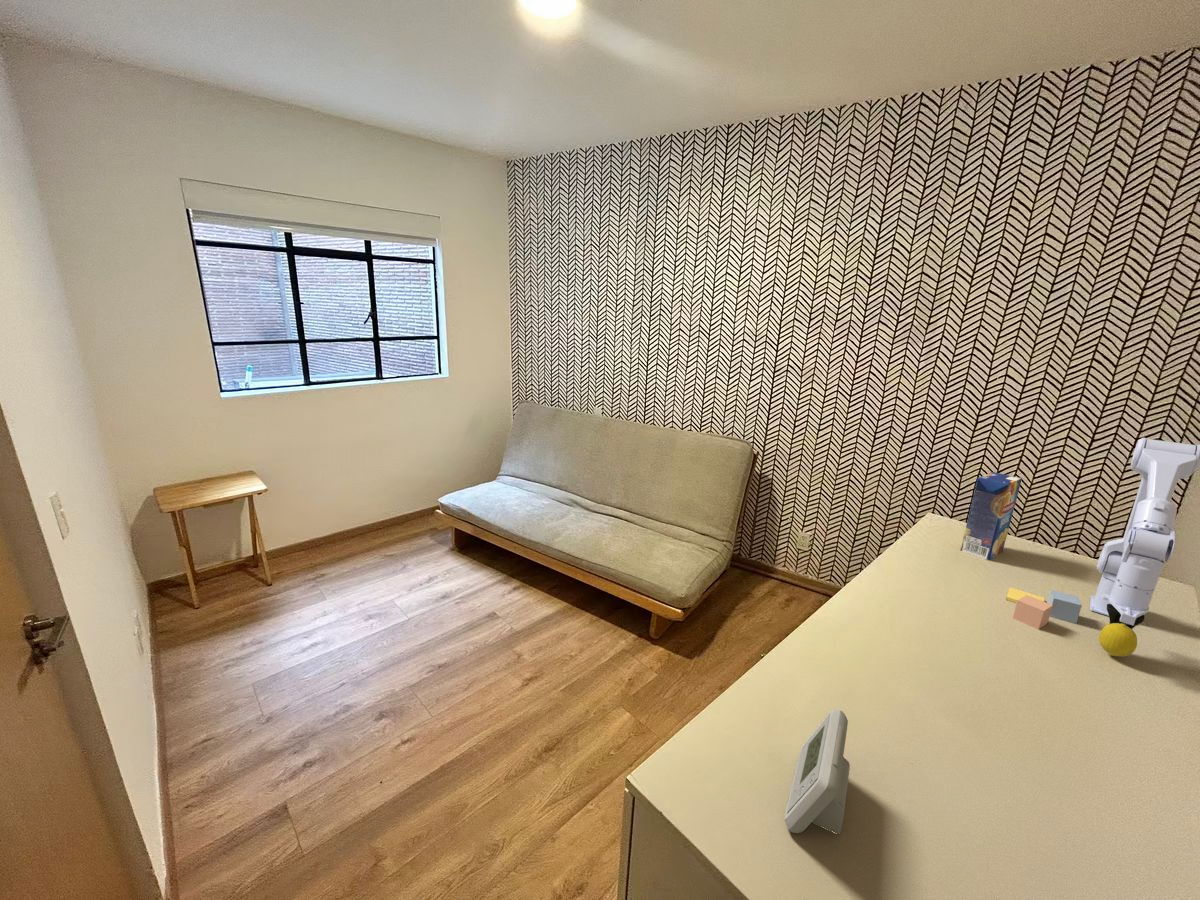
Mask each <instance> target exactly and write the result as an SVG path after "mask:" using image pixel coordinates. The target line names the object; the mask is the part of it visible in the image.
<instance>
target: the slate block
mask: <svg viewBox="0 0 1200 900" xmlns="http://www.w3.org/2000/svg"><path fill="white" fill-rule="evenodd" d="M1046 603H1049V604H1051V605H1053V607H1052V610H1051V613H1050V617H1049V618H1054V619H1058V620H1061V621H1065V622H1069V623H1072V624H1077V622H1078V618H1079V616H1080V612H1081V609H1082V607H1083V605H1082V603H1081V600H1080V598H1079V596H1078V595H1073V594H1070V593H1065V592H1063V591H1059V590H1054V589H1050V591H1049V594H1048V598H1047V602H1046Z"/></svg>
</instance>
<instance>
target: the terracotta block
mask: <svg viewBox="0 0 1200 900" xmlns="http://www.w3.org/2000/svg"><path fill="white" fill-rule="evenodd" d="M1052 607H1053V605H1051V604H1049V603H1047V602H1046V601H1044V602H1043V601H1041V600H1038V599H1036V598H1033V597H1031V596H1028V595H1026V596H1024V597H1023V598H1021V599H1019V600H1018V601H1017V603H1016V605H1015V610H1014V612H1013V617H1012V619H1013V620H1016V621H1018V622H1020V623H1023V624H1025V625H1027V626H1029V627H1032V628H1035V629H1036V630H1040V629H1041V628H1042V627H1044V626H1046V625H1047V624H1048V622H1049V619H1050V618H1051V617H1050V613H1051V610H1052Z"/></svg>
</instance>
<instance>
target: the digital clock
mask: <svg viewBox="0 0 1200 900" xmlns="http://www.w3.org/2000/svg"><path fill="white" fill-rule="evenodd" d="M848 723H849V722H848V718H847V716H846V713H844V711H842V710H841V709H831V710H830V711H829V713H828V714H826V715H825V717H824V718H823V720H822V721H821V722H820V723H819V725H818V726H816V729H814V731H813V732H812V733H811V735H809V736H808V738H806V740H805V741H804V743H803V745H802V746H801V747H800V750H799V755H798V759H797V764H796V767H795V772H794V775H793V779H792V783H791V784H792V785H791V788H790V792H789V797H788V800H787V803H786V809H785V811H784V816H783V817H784V818H783V819H784V822H785V826H786V828H787V830H788V831H789V832H791V833H792V834H800V833H803V832H804V831H805V830H806V829H807V828H808V827H809V825H810V824H813V823H814V824H813V825H815V824H817V825H819V826H822V827H824V828H826V829H828V830H830V831H833V832H835V833H837V834H839V835H838V836H840V835H841V832H842V827H843V822H844V817H845V809H846V800H847V792H848V784H849V776H850V770H851V769H850V767H851V765H850V762H849V760H848V759H847V758H845V756H844V755H845V754H844V753H845V746H846V740H847V739H846V738H847V731H848V726H849V725H848ZM811 822H812V823H811ZM817 825H816V826H817ZM819 826H818V827H819ZM826 829H825V830H826ZM828 830H827V831H828ZM830 831H829V832H830Z"/></svg>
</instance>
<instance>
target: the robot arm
mask: <svg viewBox="0 0 1200 900" xmlns="http://www.w3.org/2000/svg"><path fill="white" fill-rule="evenodd" d="M1199 467H1200V444H1191V443H1189V444H1188V443H1181V442H1176V441H1175V442H1174V441H1166V440H1159V439H1151V438H1146V437H1141V438H1140V439H1138V440H1137V441H1136V445H1135V448H1134V451H1133V454H1132V460H1131V462H1130V470H1132V471H1133V472H1135V473H1138V474H1139V475H1140V484H1139V486H1138V490H1137V494H1136V497H1135V499H1134V503H1133V506H1132V509H1131V512H1130V516H1129V519H1128V522H1127V524H1126V528H1125V532H1124V535H1123V537H1121V538H1118V539H1114V540H1113V539H1112V540H1108V541H1107V542H1106V543H1104V545H1103V548H1102V550H1101V551H1100V555H1099V558H1098V562H1097V565H1096V570H1097V571H1098V573H1100V574H1101V578H1100V581H1099V583H1098V587H1097V590H1096V593H1095V595H1092V594H1091V595H1090V603H1089V610H1090V611H1091V612H1095V613H1097V614H1102V615H1103V616H1107V617H1109V624H1112V623H1119V624H1121V623H1122V624H1125V625H1126V626H1128V627H1129V628H1131V629H1132V630H1133V629H1134V628H1135V627H1136V626H1138V625H1139V624H1141V623H1143V622H1144V621H1145V614H1147V613H1149V610H1150V607H1149V606H1150V603H1151V600H1152V597H1153V595H1154V592H1155V589H1156V587H1157V584H1158V581H1159V579H1160V576H1161V573H1162V570H1163V567H1164V565H1165V563H1168V562H1169V561H1170V559H1171V557H1172V556H1173V553H1174V549H1175V546H1176V531H1175V530H1174V528H1175V523H1176V518H1177V517H1176V516H1177V513H1178V512H1177V511H1178V509H1177V507H1176V506H1175V505H1174V504H1172V502H1171V500H1172V497H1173V495H1174V492H1175V489H1176V486H1177V483H1178V481H1179V480H1183V479H1184V480H1185V479H1188V478H1189V477H1190V476H1192V475H1193V474H1194V473H1195V472H1196V471H1197V470H1198V468H1199Z"/></svg>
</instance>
